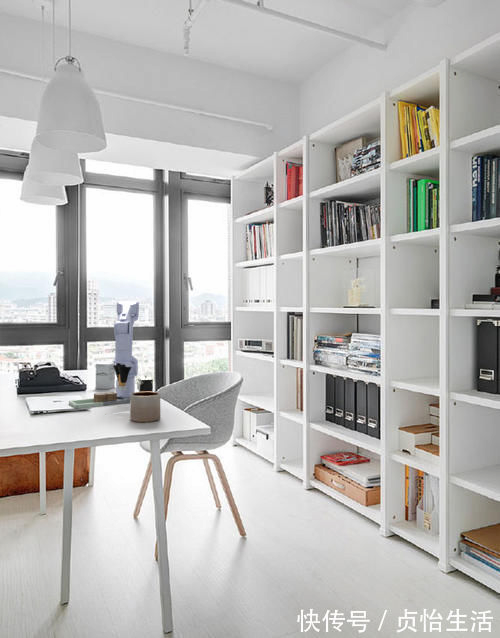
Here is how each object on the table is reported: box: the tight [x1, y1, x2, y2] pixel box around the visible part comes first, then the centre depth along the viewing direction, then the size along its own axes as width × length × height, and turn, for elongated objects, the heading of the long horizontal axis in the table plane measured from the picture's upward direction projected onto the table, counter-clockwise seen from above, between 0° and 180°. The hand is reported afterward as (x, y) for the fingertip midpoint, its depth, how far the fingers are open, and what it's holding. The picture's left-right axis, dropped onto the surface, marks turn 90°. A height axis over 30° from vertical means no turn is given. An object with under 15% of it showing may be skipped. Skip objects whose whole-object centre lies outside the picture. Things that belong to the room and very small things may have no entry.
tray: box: [68, 397, 103, 409], centre depth 206 cm, size 10×11×2 cm
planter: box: [129, 391, 161, 424], centre depth 184 cm, size 11×11×10 cm
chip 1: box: [93, 392, 107, 403], centre depth 210 cm, size 4×4×4 cm
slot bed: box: [101, 396, 131, 407], centre depth 213 cm, size 10×12×2 cm
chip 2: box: [104, 391, 117, 401], centre depth 212 cm, size 4×4×4 cm
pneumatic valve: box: [136, 375, 154, 392], centre depth 214 cm, size 6×12×12 cm, turn 20°
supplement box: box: [94, 361, 116, 390], centre depth 253 cm, size 7×7×13 cm
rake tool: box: [118, 374, 126, 391], centre depth 210 cm, size 4×3×6 cm, turn 37°
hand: (122, 382), depth 210 cm, fingers closed on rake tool, 3 cm apart
